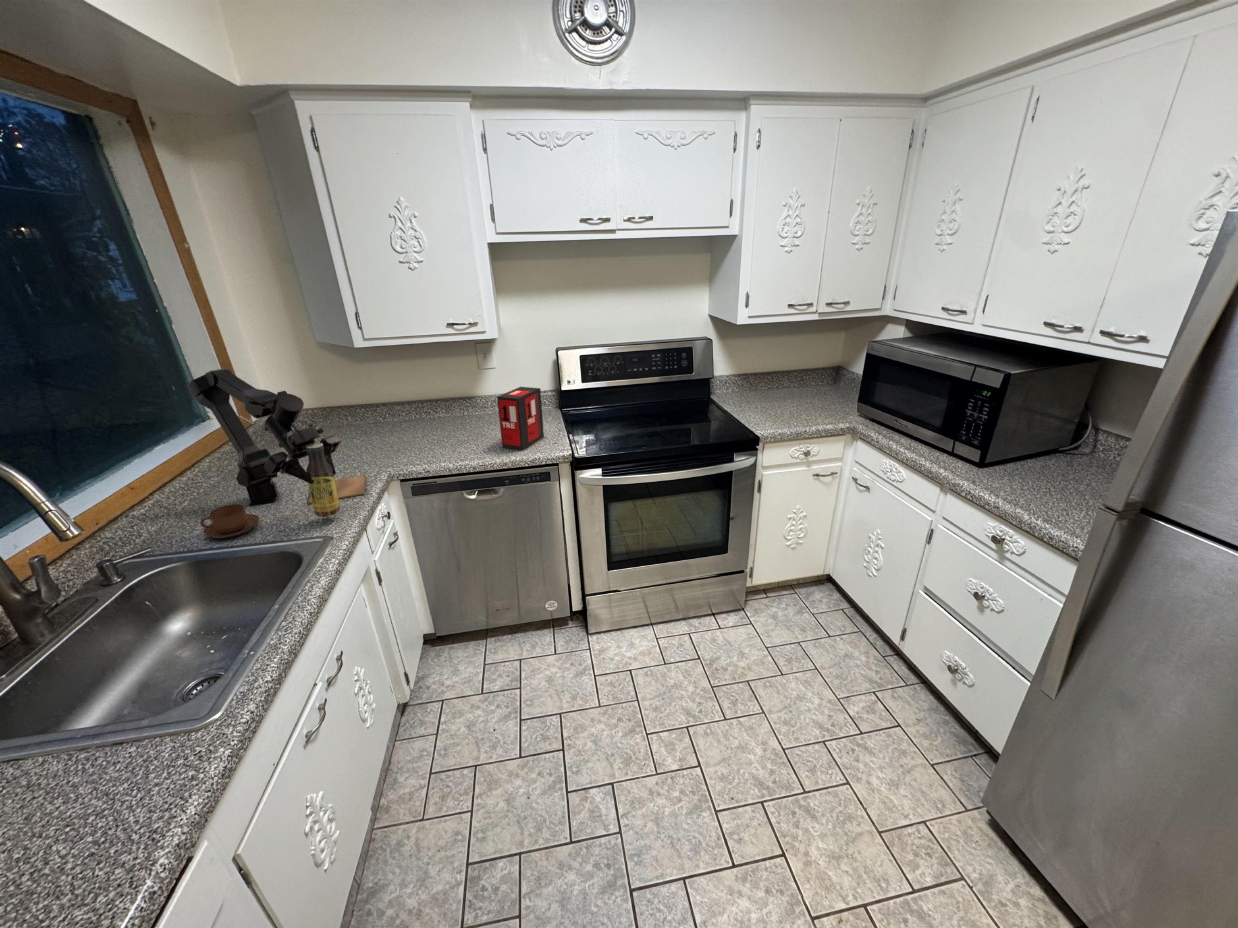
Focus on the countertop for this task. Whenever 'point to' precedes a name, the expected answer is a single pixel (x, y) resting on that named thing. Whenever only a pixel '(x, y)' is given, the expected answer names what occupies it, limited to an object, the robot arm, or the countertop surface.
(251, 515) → the cup and saucer
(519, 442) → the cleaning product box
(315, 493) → the sauce bottle
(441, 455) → the countertop surface
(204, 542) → the countertop surface
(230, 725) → the countertop surface
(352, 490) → the cork mat
